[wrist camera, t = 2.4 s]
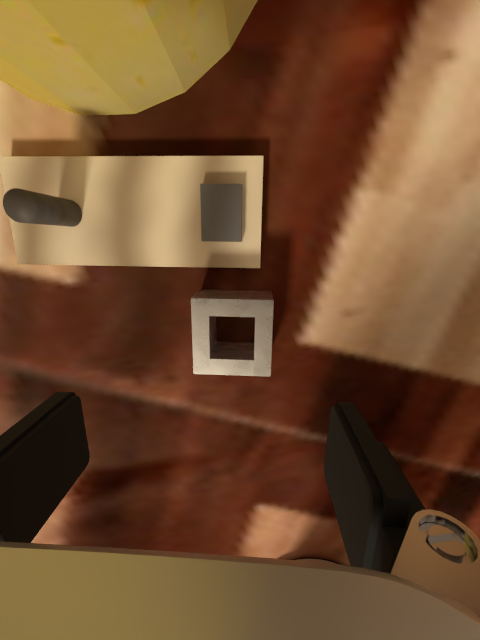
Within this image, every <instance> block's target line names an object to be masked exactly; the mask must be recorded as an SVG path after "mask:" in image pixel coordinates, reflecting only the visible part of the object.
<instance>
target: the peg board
mask: <svg viewBox="0 0 480 640" xmlns="http://www.w3.org/2000/svg"><path fill="white" fill-rule="evenodd" d="M0 171H1V176H2V182H3V187H4V192H5V195H4V198H3V206H4V209H5V212H6V213H7V215H8V216H9V219H10V224H11V229H12V234H13V240H14V245H15V250H16V255H17V261H18V264H39V265H99V266H159V267H220V268H260V257H261V223H262V190H263V156H0Z"/></svg>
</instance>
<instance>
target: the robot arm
mask: <svg viewBox="0 0 480 640" xmlns="http://www.w3.org/2000/svg"><path fill="white" fill-rule="evenodd" d="M89 457H90V456H89V449H88V443H87V437H86V431H85V424H84V418H83V412H82V406H81V400H80V398H79V397H78V396H76V394H75V393H74V392H56V393H54V394H53V395H52V396H51V397H49V398H48V399H47V400H45V401H44V402H43V403H42V404H40V405H39V406H38V407H36V408H35V409H34V410H33V411H31V412H30V413H29V414H28V415H26V416H25V417H24V418H22V419H21V420H20V421H19V422H17V423H16V424H15V425H13V426H12V427H11V428H10V429H8V430H7V431H6V432H4V433H3V434H2V435H1V436H0V640H480V540H479V539H478V538H477V537H476V536H475V534H474V533H473V532H472V531H471V530H470V529H468V528H467V527H466V526H465V525H464V524H463V523H461V522H460V521H458V520H456V519H455V518H453V517H451V516H449V515H447V514H445V513H442V512H439V511H435V510H426V509H425V508H424V506H423V505H422V503H421V501H420V500H419V498H418V497H417V495H416V493H415V492H414V490H413V489H412V487H411V485H410V484H409V482H408V481H407V479H406V477H405V476H404V474H403V473H402V471H401V469H400V468H399V466H398V465H397V463H396V461H395V460H394V458H393V457H392V455H391V453H390V452H389V450H388V449H387V447H386V446H385V444H384V443H382V442H377V440H376V438H375V437H374V435H373V433H372V432H371V430H370V428H369V427H368V425H367V423H366V422H365V420H364V418H363V417H362V415H361V413H360V412H359V410H358V408H357V406H356V405H355V404H354V403H350V402H337V404H336V406H332V407H331V411H330V420H329V429H328V438H327V447H326V456H325V464H324V473H325V479H326V482H327V486H328V489H329V493H330V496H331V500H332V503H333V506H334V510H335V513H336V517H337V520H338V524H339V527H340V531H341V534H342V538H343V541H344V544H345V548H346V551H347V555H348V558H349V562H350V565H351V566H346V565H339V564H336V563H333V562H330V561H326V560H321V559H298V560H285V559H273V558H258V557H244V556H229V555H215V554H200V553H185V552H170V551H154V550H138V549H122V548H106V547H89V546H72V545H54V544H36V543H31V541H32V540H33V539H34V537H35V536H36V535H37V533H38V532H39V530H40V529H41V528H42V526H43V525H44V524H45V522H46V521H47V520H48V518H49V517H50V515H51V514H52V513H53V511H54V510H55V509H56V507H57V506H58V505H59V503H60V502H61V500H62V499H63V498H64V496H65V495H66V494H67V492H68V491H69V490H70V488H71V487H72V486H73V484H74V483H75V481H76V480H77V479H78V477H79V476H80V475H81V473H82V472H83V471H84V469H85V468H86V466H87V465H88V462H89Z"/></svg>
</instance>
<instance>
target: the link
mask: <svg viewBox="0 0 480 640" xmlns="http://www.w3.org/2000/svg"><path fill="white" fill-rule="evenodd" d="M273 307H274V299H273V296H272V292H271V291H253V290H205V289H201V290H200V291H199V292H198V293H196V294H195V295H194V296H193V297H192V298H191V314H192V343H193V373H194V374H214V375H242V376H271V353H272V330H273ZM216 316H225V317H255V338H254V343H253V342H219V341H217V326H216Z"/></svg>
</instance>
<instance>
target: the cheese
mask: <svg viewBox="0 0 480 640" xmlns="http://www.w3.org/2000/svg"><path fill="white" fill-rule="evenodd" d="M257 1H258V0H0V80H2V81H3V82H5V83H6V84H8V85H10V86H11V87H13V88H14V89H16V90H18V91H19V92H21V93H22V94H24V95H25V96H27V97H29V98H30V99H33V100H36V101H40V102H43V103H46V104H49V105H52V106H55V107H58V108H61V109H64V110H67V111H70V112H73V113H76V114H79V115H82V116H89V115H115V114H136V113H138V112H140V111H143V110H145V109H147V108H150V107H152V106H154V105H156V104H159V103H161V102H163V101H166V100H168V99H170V98H172V97H175V96H177V95H179V94H182V93H184V92H186V91H187V90H188V89H189V88H190V87H191V86H192V85H193V84H194V83H195V82H196V81H197V80H198V79H200V78H201V77H202V76H203V75H204V74H205V73H206V72H207V71H208V70H209V69H210V68H211V67H212V66H213V65H214V64H215V63H216V62H217V61H218V60H220V59H221V58H222V57H223V56H224V55H225V54H226V53H227V52H228V51H229V50H230V49H231V47H232V45H233V43H234V41H235V40H236V38H237V36H238V34H239V33H240V31H241V29H242V27H243V25H244V24H245V22H246V20H247V18H248V17H249V15H250V13H251V11H252V9H253V8H254V6H255V4H256V2H257Z"/></svg>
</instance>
